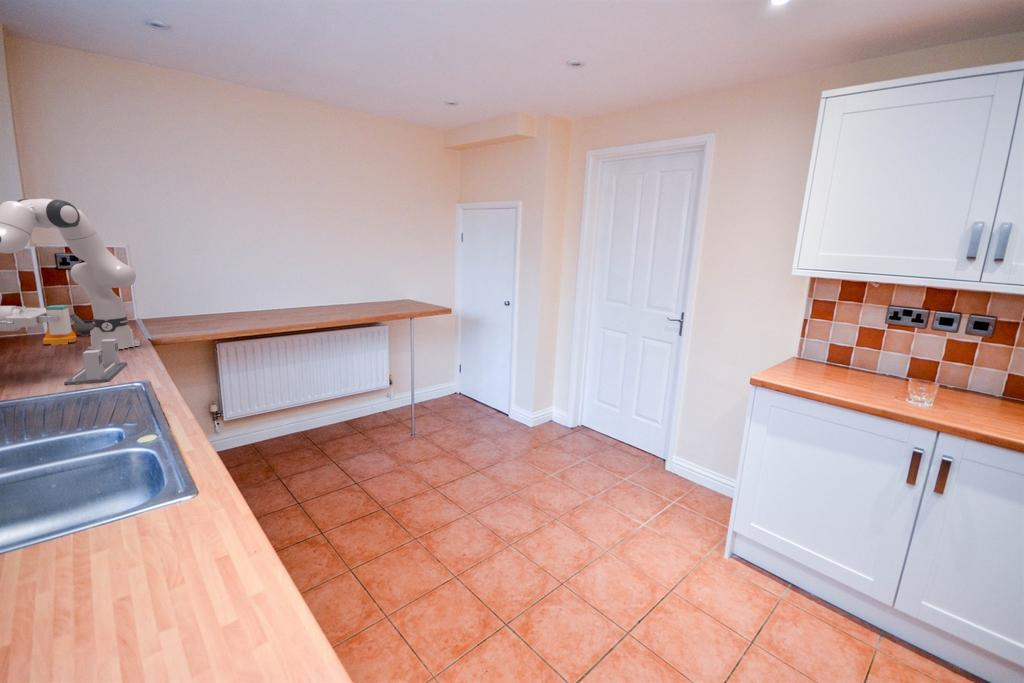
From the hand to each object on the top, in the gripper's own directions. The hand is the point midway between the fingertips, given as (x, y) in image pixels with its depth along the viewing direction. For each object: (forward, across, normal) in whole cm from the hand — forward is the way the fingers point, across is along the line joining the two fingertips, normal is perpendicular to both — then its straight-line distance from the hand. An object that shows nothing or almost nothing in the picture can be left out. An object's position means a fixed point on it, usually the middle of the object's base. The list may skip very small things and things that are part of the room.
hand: (61, 317), depth 169 cm
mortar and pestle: (-17, +79, +22) cm, 84 cm away
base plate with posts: (+8, -3, +22) cm, 24 cm away
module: (-1, 0, +6) cm, 6 cm away
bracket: (-22, +62, +22) cm, 70 cm away
